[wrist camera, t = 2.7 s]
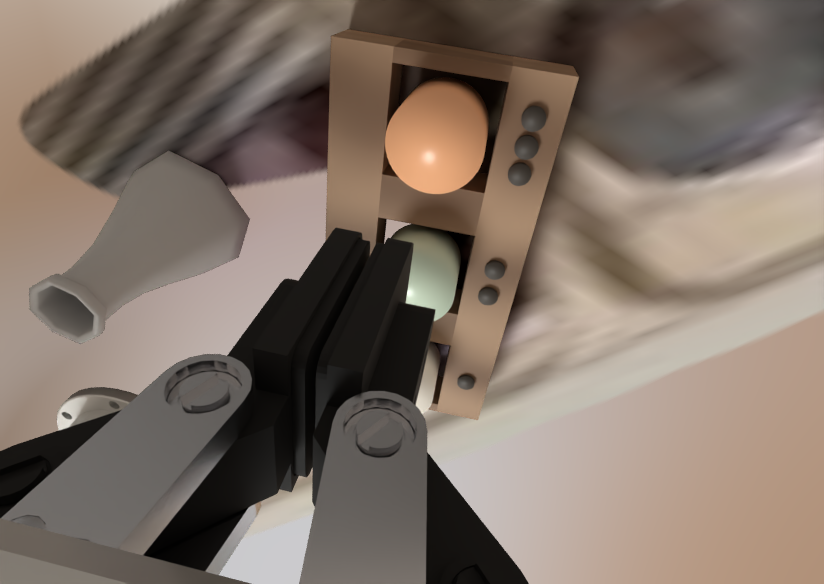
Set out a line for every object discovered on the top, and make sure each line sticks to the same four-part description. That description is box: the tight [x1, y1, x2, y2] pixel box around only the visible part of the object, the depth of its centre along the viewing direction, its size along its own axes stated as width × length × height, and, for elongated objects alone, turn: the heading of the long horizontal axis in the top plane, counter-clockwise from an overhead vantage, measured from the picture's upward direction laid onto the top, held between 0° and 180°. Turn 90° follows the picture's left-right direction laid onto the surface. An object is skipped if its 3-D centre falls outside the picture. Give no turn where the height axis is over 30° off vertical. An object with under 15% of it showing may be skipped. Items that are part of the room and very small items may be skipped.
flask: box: [29, 151, 250, 344], centre depth 25 cm, size 7×7×10 cm
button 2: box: [391, 224, 461, 321], centre depth 25 cm, size 4×4×3 cm
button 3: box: [385, 77, 489, 194], centre depth 21 cm, size 4×4×3 cm
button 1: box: [416, 341, 440, 414], centre depth 29 cm, size 4×4×3 cm
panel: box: [326, 29, 579, 420], centre depth 26 cm, size 20×10×3 cm, turn 173°
